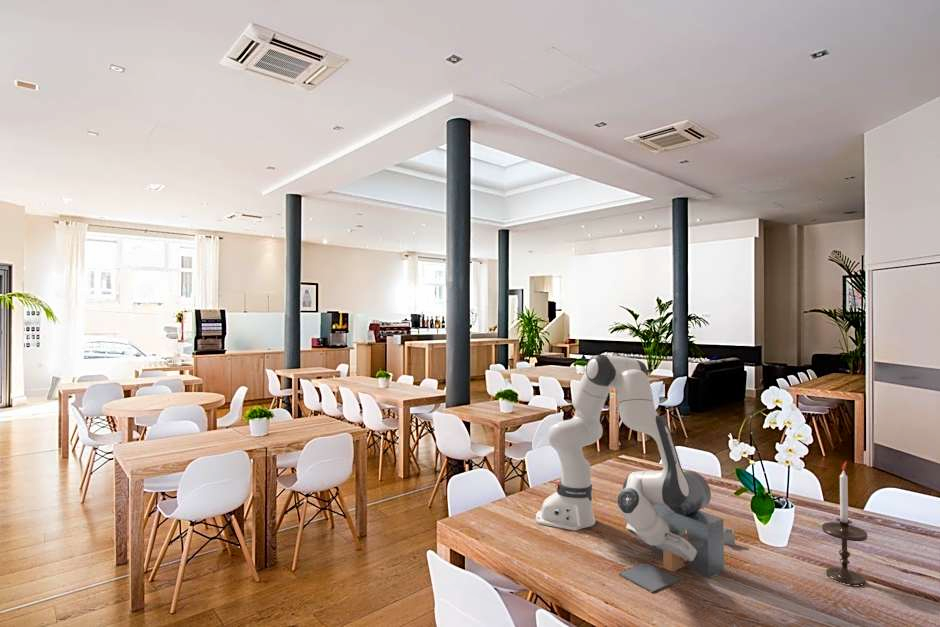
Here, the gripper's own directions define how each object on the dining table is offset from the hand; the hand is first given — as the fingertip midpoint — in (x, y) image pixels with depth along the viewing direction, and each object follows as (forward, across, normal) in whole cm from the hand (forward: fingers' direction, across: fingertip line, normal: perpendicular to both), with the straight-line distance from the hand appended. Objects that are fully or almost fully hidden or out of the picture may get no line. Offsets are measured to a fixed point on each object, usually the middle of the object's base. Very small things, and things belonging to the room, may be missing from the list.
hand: (673, 552), depth 158 cm
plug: (+5, 0, +1) cm, 5 cm away
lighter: (+24, +1, -17) cm, 29 cm away
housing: (+8, 0, -2) cm, 8 cm away
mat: (-5, 0, +12) cm, 13 cm away
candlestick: (+29, -32, -22) cm, 49 cm away
